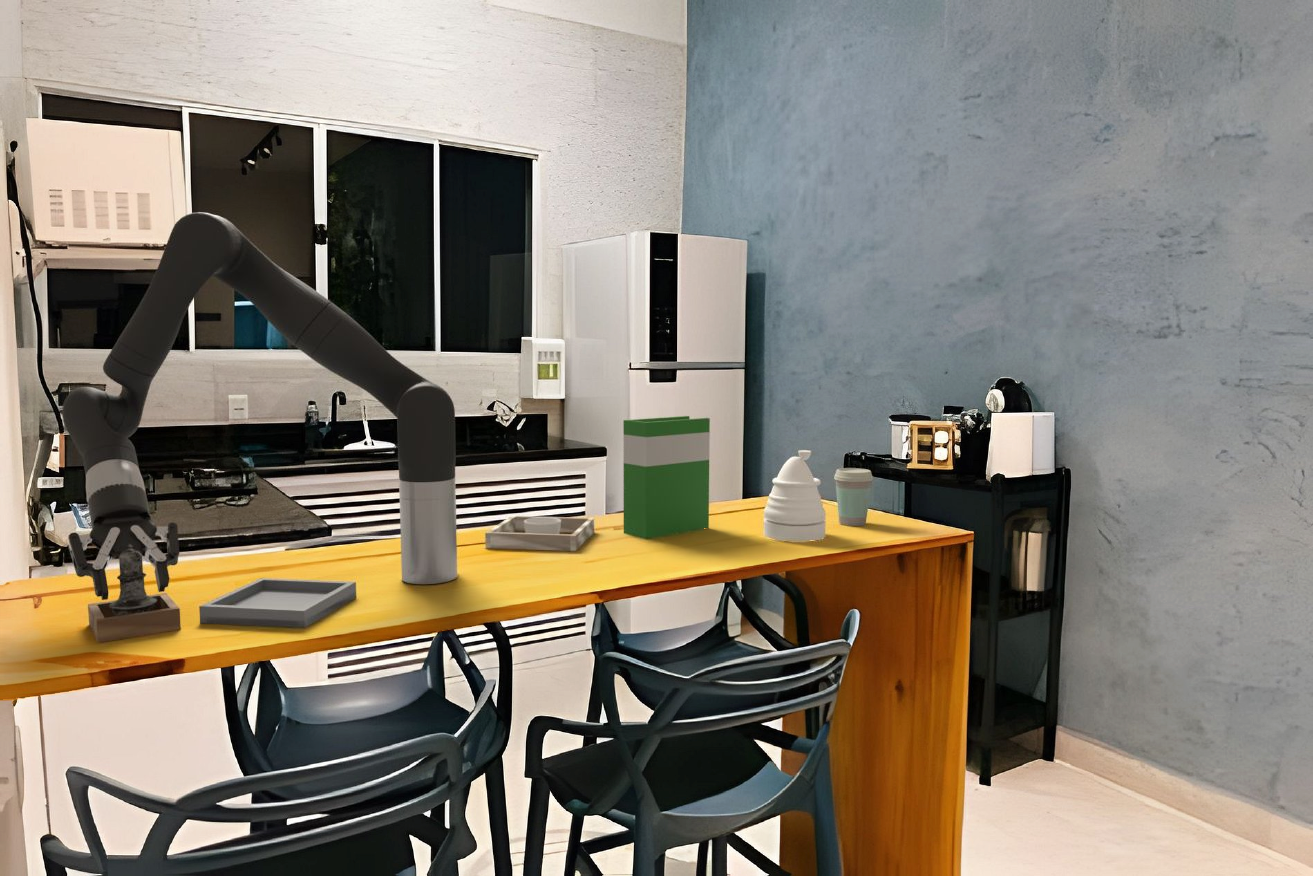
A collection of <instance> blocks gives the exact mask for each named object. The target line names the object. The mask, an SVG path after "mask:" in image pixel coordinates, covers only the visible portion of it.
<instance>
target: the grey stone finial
mask: <svg viewBox="0 0 1313 876" xmlns="http://www.w3.org/2000/svg"><path fill="white" fill-rule="evenodd" d="M132 547H133V546H132V545H131V544H129V545H128V550H126V551H124V552H123V553H121V554H120V556H119V559H118V563H119V564H118V565H119V575H118V576H117V578H116V579H117V580H119V588H120V590H119V591H120V592H119V595H118V598H117V599H116V600H117V601H114V600H113V601H114V602H112V603H111V604H110V605H109V607H110V608H112V612H113V614H114V616H121V615H128V614H134V613H141V612H147V611H153V610H154V607H155V603H156V602H157V599H156V598H153V597H149V596H148V595H147V592H146V589H145V577H147V574H146V573H145V572H144V567H143V565H144V564H143V558H142V554H141V553H140V552H139V551H137V550H134V549H132Z"/></svg>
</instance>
